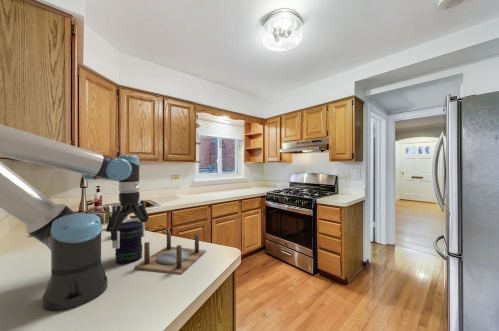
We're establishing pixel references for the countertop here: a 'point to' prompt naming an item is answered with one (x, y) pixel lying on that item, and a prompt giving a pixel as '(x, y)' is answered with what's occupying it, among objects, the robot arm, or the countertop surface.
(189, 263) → the walnut stand
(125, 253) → the storage jar
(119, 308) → the countertop surface
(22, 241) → the countertop surface
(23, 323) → the countertop surface
